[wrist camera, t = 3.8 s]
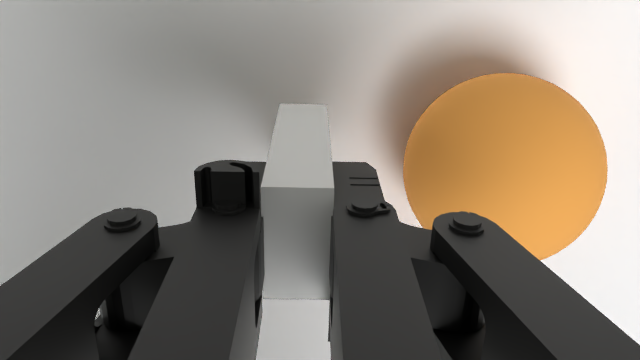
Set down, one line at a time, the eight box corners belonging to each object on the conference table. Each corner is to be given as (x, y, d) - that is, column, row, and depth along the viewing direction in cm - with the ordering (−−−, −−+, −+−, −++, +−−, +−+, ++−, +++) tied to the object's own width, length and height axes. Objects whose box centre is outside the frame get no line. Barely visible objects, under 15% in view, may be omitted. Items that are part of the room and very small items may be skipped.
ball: (383, 210, 21) (410, 303, 15) (399, 53, 18) (438, 95, 13) (536, 215, 21) (618, 309, 15) (571, 60, 19) (682, 105, 13)
